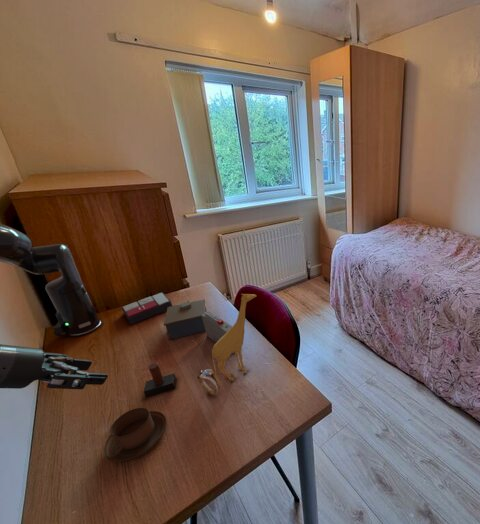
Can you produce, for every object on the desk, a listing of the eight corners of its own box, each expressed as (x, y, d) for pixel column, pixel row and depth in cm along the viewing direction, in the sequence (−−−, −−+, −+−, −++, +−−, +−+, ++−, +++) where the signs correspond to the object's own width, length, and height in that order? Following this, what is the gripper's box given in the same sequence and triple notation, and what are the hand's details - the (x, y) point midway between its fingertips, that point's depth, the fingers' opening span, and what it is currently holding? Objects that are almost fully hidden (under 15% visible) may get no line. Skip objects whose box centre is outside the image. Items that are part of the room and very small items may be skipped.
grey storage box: (167, 341, 100) (161, 324, 97) (170, 322, 110) (165, 307, 107) (209, 330, 105) (204, 314, 102) (208, 314, 115) (204, 299, 112)
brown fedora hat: (156, 459, 63) (148, 441, 61) (95, 472, 61) (83, 453, 58) (175, 412, 74) (168, 395, 71) (123, 421, 72) (114, 404, 69)
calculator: (120, 306, 114) (162, 290, 124) (125, 315, 116) (165, 299, 126) (126, 317, 107) (170, 299, 117) (131, 326, 109) (173, 308, 118)
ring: (199, 392, 80) (192, 370, 76) (209, 384, 82) (202, 362, 79) (215, 402, 76) (208, 380, 73) (225, 393, 79) (219, 372, 76)
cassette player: (239, 349, 95) (233, 324, 91) (231, 354, 93) (225, 329, 89) (214, 332, 104) (208, 309, 100) (207, 336, 102) (200, 312, 98)
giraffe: (262, 352, 94) (250, 285, 84) (270, 358, 91) (259, 290, 81) (214, 383, 82) (193, 310, 72) (222, 391, 80) (201, 316, 69)
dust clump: (182, 309, 105) (181, 307, 105) (180, 306, 107) (180, 303, 107) (191, 306, 107) (190, 304, 106) (189, 303, 109) (188, 301, 108)
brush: (175, 389, 81) (166, 366, 77) (146, 398, 78) (136, 375, 75) (176, 379, 84) (168, 356, 80) (148, 387, 81) (139, 364, 78)
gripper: (24, 359, 51) (120, 367, 64) (2, 334, 57) (93, 346, 71) (-4, 403, 49) (101, 401, 62) (-24, 371, 55) (75, 376, 69)
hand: (97, 372), depth 67 cm, fingers open, 8 cm apart
